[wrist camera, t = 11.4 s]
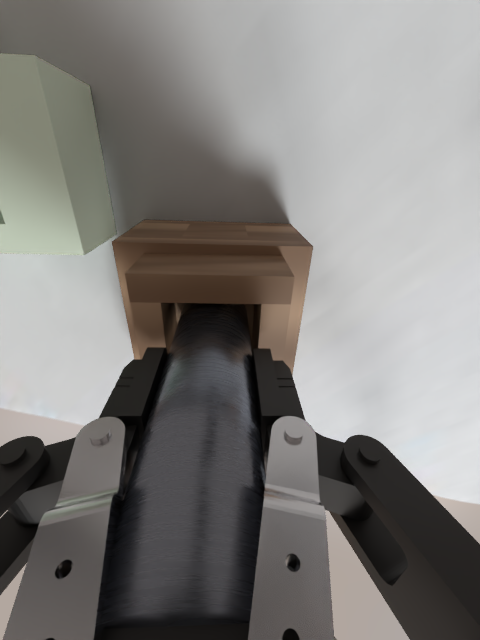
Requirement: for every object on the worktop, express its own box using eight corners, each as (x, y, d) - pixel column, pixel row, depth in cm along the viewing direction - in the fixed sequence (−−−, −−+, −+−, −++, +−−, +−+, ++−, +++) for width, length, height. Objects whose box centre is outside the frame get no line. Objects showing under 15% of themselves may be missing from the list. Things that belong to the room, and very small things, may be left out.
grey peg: (179, 286, 14) (49, 616, 4) (248, 287, 15) (298, 606, 4) (184, 343, 16) (102, 673, 6) (245, 343, 16) (275, 665, 6)
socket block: (144, 219, 19) (83, 260, 11) (290, 223, 19) (332, 265, 11) (162, 360, 25) (132, 452, 17) (274, 361, 25) (294, 450, 17)
